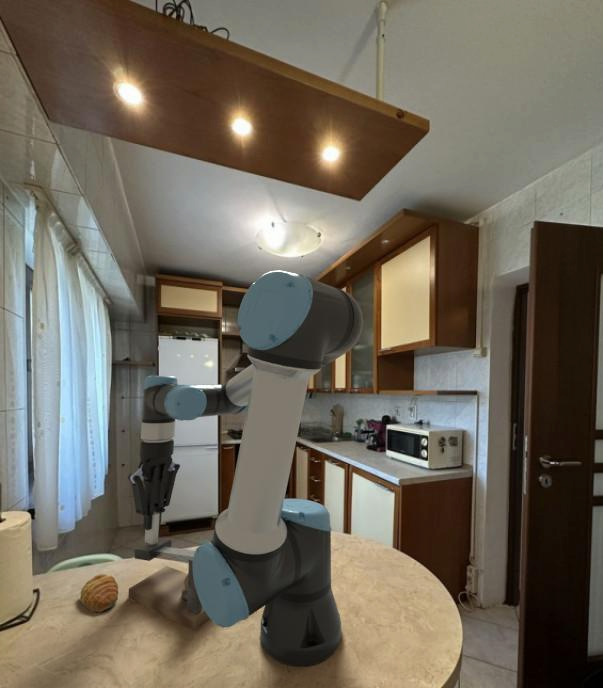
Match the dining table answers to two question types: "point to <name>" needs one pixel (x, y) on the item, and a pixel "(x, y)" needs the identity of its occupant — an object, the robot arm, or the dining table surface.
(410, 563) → the dining table surface
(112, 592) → the pastry
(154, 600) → the nutcracker base
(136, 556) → the lever
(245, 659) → the dining table surface
